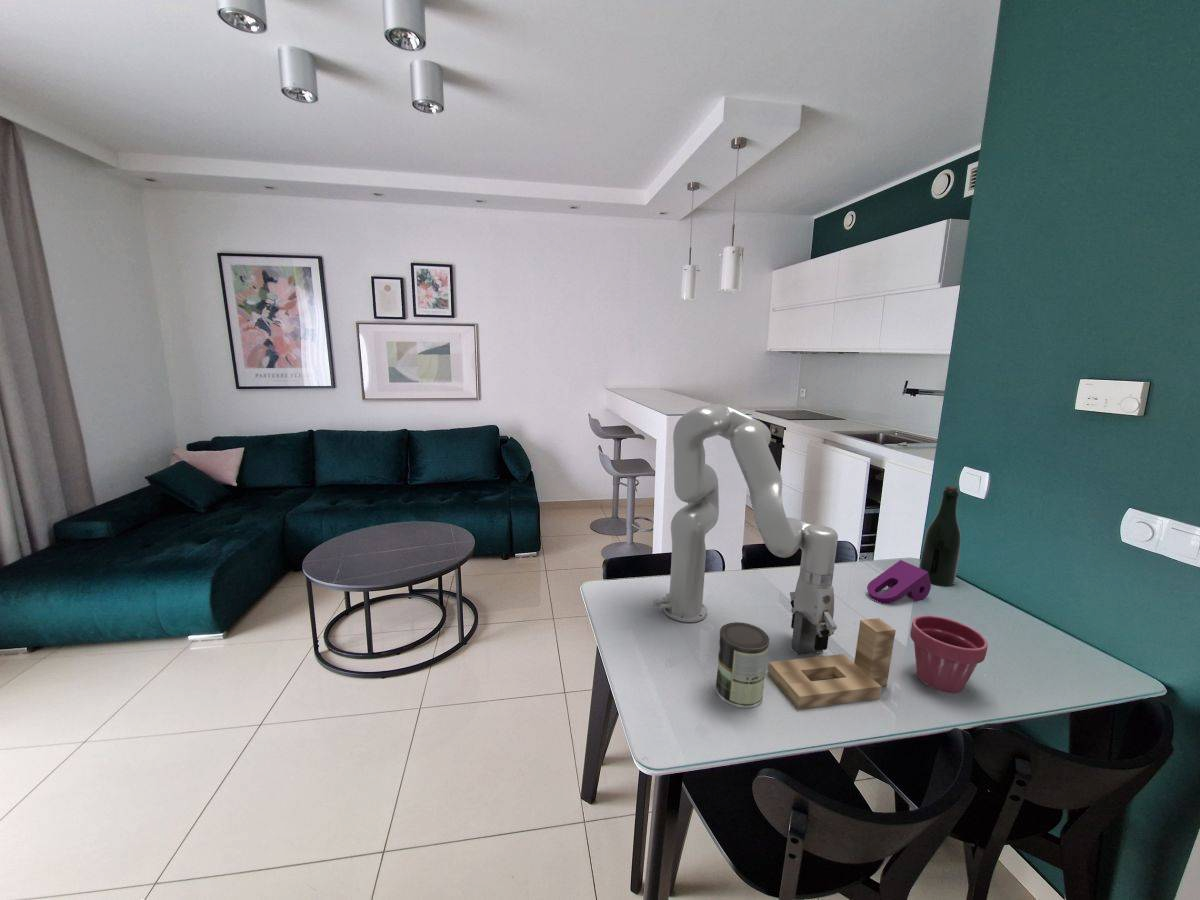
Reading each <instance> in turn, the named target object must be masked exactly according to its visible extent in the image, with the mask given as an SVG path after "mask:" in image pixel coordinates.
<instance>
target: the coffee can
mask: <svg viewBox="0 0 1200 900" xmlns="http://www.w3.org/2000/svg"><path fill="white" fill-rule="evenodd" d="M769 645H770V637H769V635H768V634H767V632H765V630H763V629H762V628H760V627H758V626H756V625H753V624H750V623H745V622H735V621H734V622H728V623H724V625H723V626H721V628H720V629H719V646H718V656H717V667H716V668H717V670H716V679H715V681H716V682H715V686H714V687H715V692H716V694H717V695H718V697H719V698H720V699H721V700H722V701H723V702H725V703H727V704H728V705H729V706H732V707H736V708H740V709H752V708H755V707H758V706H759V705H760V704H762V702H763V699H764V689H765V688H764V687H765V679H766V678H765V677H766V669H767V660H768V659H767V658H768V650H769Z"/></svg>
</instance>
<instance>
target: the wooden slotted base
mask: <svg viewBox="0 0 1200 900" xmlns="http://www.w3.org/2000/svg"><path fill="white" fill-rule="evenodd" d="M858 627H859V629H858V635H857V641H856V642H857V643H856V647H855V655H854V661H853V660H852V659H851V658H849V657H848V655H846V654H845V653H841V654H840V653H839V654H831V655H822V656H812V657H805V658H804V657H802V658H795V659H784V660H777V661H776V660H775V661H769V662H768V671H767V674H768V676H769V677H770V678H772V680H773V682H775V684H776V685H777V686H778V687H779V689H780V690H781V691H782V692H783V693H784V694H785V696H786V697H787V698H788V699H789V701H791V703H792V704H793V705H794V706H795V707H796V709H797V708H798V710H801V709H811V708H819V707H825V706H831V705H833V706H835V705H839V704H840V705H841V704H847V703H855V702H862V701H870V700H877V699H880V698H881V690H882V687H885V686H888V682H889V676H890V675H889V673H890V670H891V669H890V668H891V662H892V655H893V649H894V642H895V637H896V631H897V630H896V629H895V628H894V627H892V626H891V625H890V624H888V623H886V621H884V620H882V619H881V618H880V617H879V618H876V617H875V618H870V619H869V618H868V619H860V620H859V626H858ZM818 706H819V707H818Z"/></svg>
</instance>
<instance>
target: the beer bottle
mask: <svg viewBox="0 0 1200 900" xmlns="http://www.w3.org/2000/svg"><path fill="white" fill-rule="evenodd" d="M958 490H959V489H958V487H957V486H952V485H947V486H945V487H944V489H943V491H942V495H941V496H942V497H941V502H940V506H939V509H938V512H937V514H936V515H935V517H934V519H933V520H932V521H931V522H930V524H929V526H928V528H927V529H926V532H925V537H924V541H923V546H922V551H921V555H920V556H921V557H920V560H919V567H918V568H921V569H923V570H925V571H927V572H928V573H929V578H930V583H931V584H932V585H938V586H942V587H943V586H945V587H947V586H949V587H950V586H952V585H954V584H955V582H956V577H957V570H958V565H959V559H960V552H961V546H962V545H961V544H962V533H961V529H960V525H959V522H958V519H957V518H958V517H957V507H958V499H959V496H960V493H959V491H958Z"/></svg>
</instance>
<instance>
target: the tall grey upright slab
mask: <svg viewBox="0 0 1200 900" xmlns="http://www.w3.org/2000/svg"><path fill="white" fill-rule="evenodd" d="M821 622H823V621H822V620H821V621H820V622H819V623H821ZM820 627H821V630H822V631H823V630H825V629H824V626H820ZM816 635H818V633H817V630H816V626H815V625H814V624H812V623H811V622H810V621H809V620H808V619H807V617H806V616H804V615H803V614H802V613H801V612H795V618H794V627H793V630H792V636H791V637H792V638H791V646H790V649H791V648H792V649H793V650H792V649H791V650H792V651H793V652H794V651H795V652H796V653H797V654H796V653H795V652H794V653H795V654H796V655H798V656H802V654H803V655H810V654H809V653H813V654H818V653H817V652H822V653H824V650H819V651H816V650H815V649H814V645H815V637H816Z"/></svg>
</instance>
